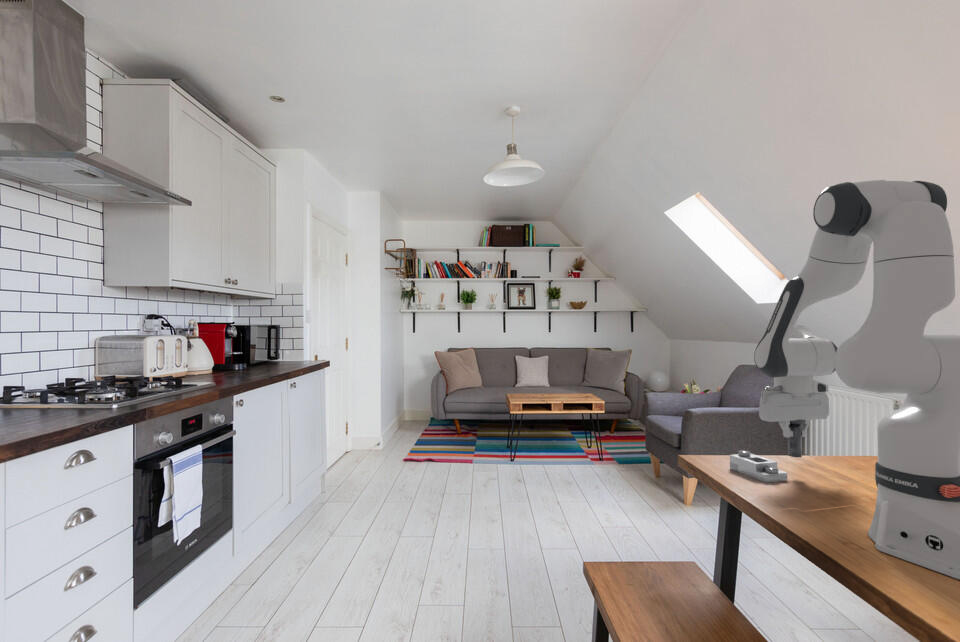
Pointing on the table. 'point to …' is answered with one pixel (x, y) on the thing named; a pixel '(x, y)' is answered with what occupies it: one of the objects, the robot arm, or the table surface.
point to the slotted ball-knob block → (756, 467)
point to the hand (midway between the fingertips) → (794, 436)
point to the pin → (795, 439)
